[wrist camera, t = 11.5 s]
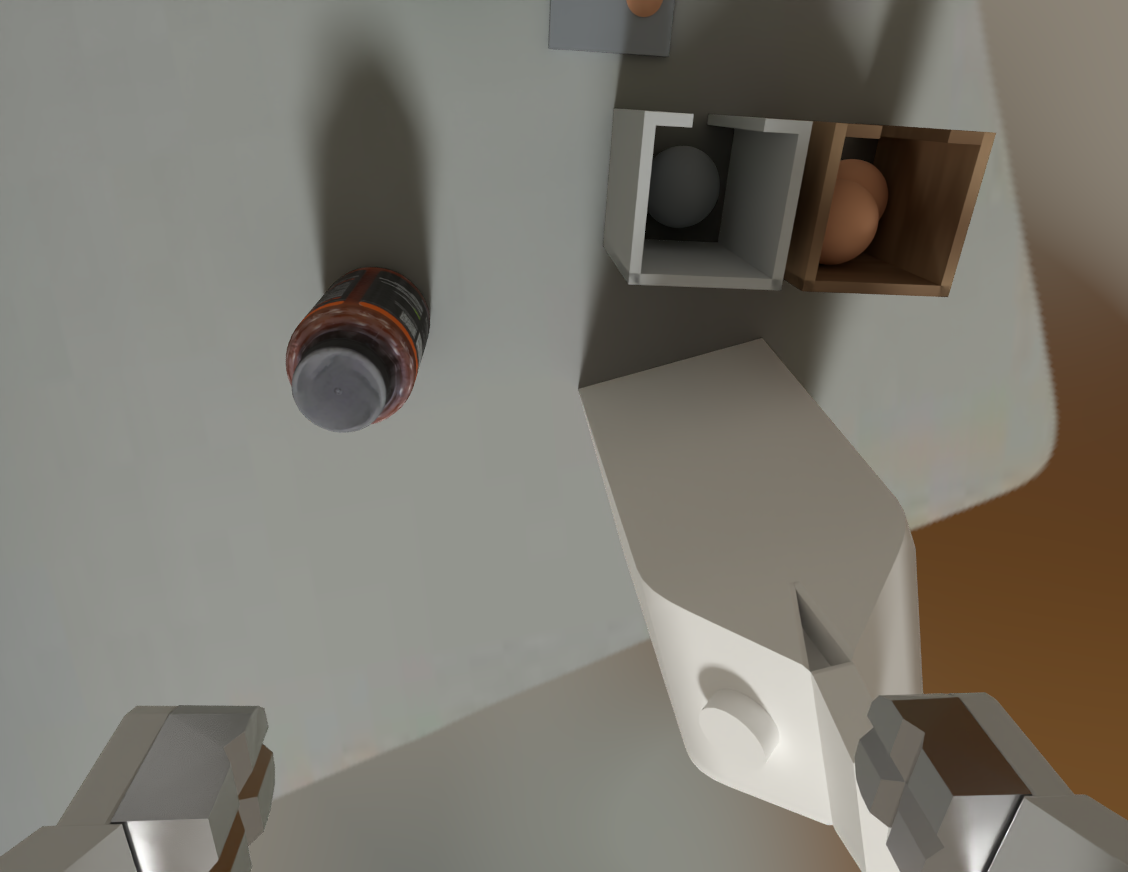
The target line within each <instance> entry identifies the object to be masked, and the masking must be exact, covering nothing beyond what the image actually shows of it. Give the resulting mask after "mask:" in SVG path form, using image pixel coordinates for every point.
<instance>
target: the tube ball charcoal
mask: <svg viewBox="0 0 1128 872" xmlns="http://www.w3.org/2000/svg"><path fill="white" fill-rule="evenodd" d="M719 191H720V178H719V174H718V170H717V168H716V166H715V164H714V162H713V161H712V160H711V158H710V157H709V156H708V155H707V154H705V153H704V152H702V151H701V150H699V149H697V148H694V147H690V146H676V147H672V148H669V149H666V150H664V151H663V152H661V153H660V154H658V155H657V156H656V157H655V158H654V159H653V160H652V168H651V177H650V187H649V197H648V207H647V210H648V212H649V213H650V215H651V216H652V217H653V218H654V219H655V220H657V221H658V222H660V223H661V224H663V225H666V226H669V227H673V228H683V227H689V226H692V225H694V224H697V223H698V222H700V221H701V220H703V219H704V218H705V217H706V216H707V215H708V214H709V213H710V212H711V211H712V209H713V207H714V206H715V204H716V202H717V199H718V196H719Z"/></svg>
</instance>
